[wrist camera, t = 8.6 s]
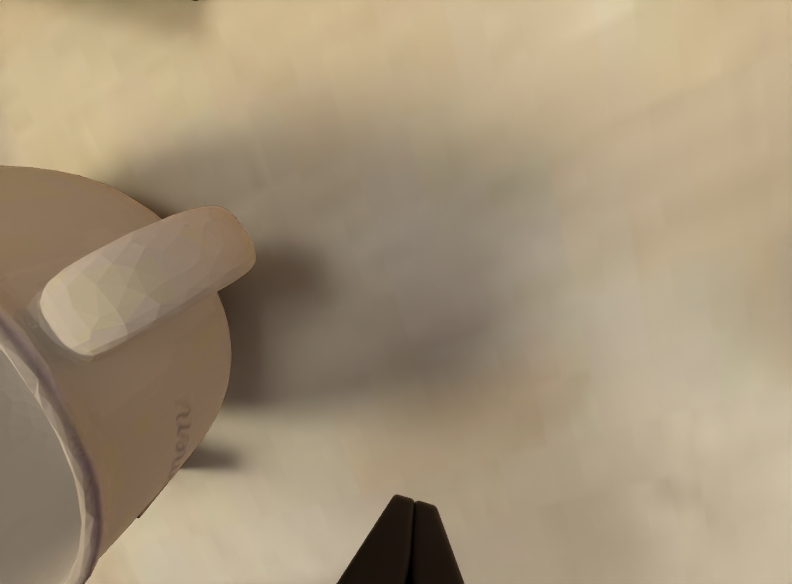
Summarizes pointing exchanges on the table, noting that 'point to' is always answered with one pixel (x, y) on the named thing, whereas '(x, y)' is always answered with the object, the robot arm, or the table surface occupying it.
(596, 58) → the table surface
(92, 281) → the teacup
